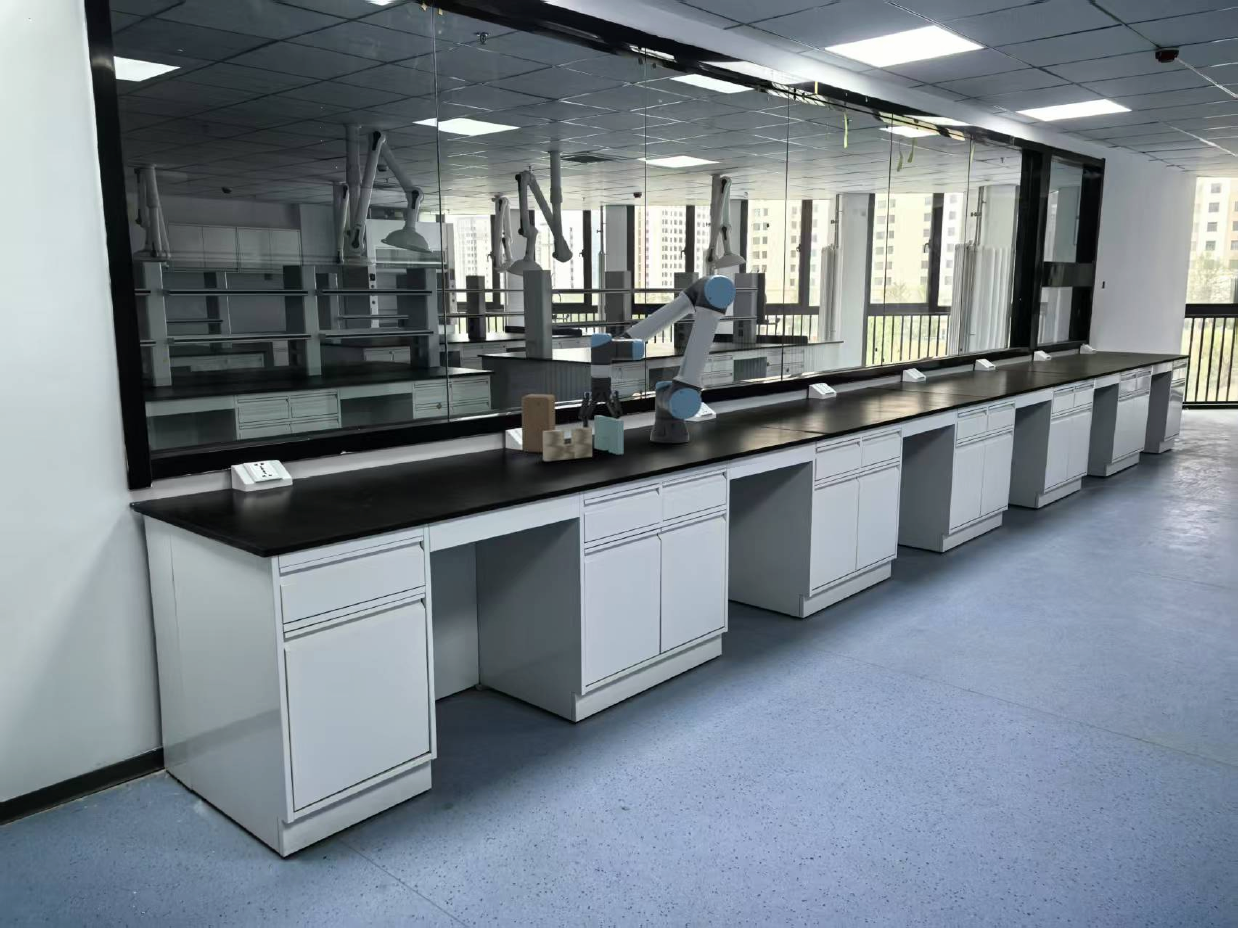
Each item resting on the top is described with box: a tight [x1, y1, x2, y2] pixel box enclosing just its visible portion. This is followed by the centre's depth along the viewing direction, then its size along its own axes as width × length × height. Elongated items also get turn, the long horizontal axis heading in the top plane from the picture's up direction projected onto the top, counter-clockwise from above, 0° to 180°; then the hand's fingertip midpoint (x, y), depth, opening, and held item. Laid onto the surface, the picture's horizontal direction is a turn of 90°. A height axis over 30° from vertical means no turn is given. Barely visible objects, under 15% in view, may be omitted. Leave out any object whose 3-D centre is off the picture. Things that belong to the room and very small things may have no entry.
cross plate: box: [594, 414, 625, 455], centre depth 321 cm, size 16×2×12 cm, turn 32°
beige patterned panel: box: [542, 427, 593, 462], centre depth 305 cm, size 18×2×10 cm, turn 122°
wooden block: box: [521, 393, 556, 454], centre depth 320 cm, size 10×10×20 cm
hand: (600, 437), depth 325 cm, fingers open, 10 cm apart
